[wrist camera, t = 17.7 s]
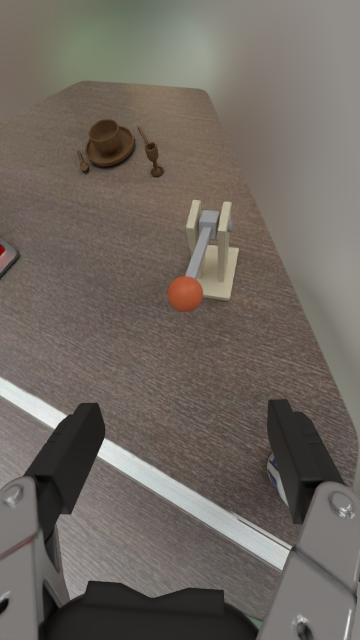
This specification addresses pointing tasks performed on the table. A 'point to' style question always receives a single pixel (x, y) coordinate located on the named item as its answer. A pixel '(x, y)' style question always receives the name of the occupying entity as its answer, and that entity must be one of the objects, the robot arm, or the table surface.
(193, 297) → the lever
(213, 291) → the bracket
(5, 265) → the toaster
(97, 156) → the place setting
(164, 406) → the table surface
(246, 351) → the table surface
